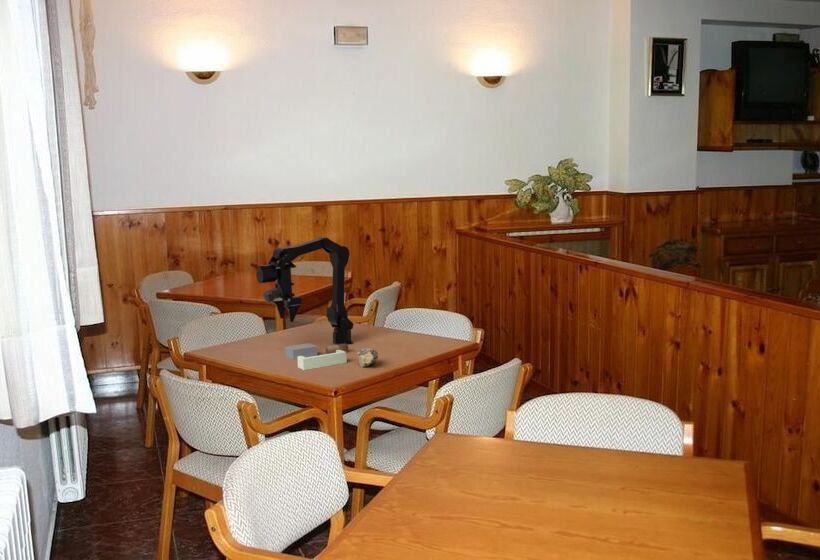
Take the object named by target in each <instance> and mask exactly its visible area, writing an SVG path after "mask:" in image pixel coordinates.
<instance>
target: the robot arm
mask: <svg viewBox="0 0 820 560" xmlns="http://www.w3.org/2000/svg"><path fill="white" fill-rule="evenodd" d="M318 250H323V251H324V252H326V253H327V254H328V257H329V263H330V264H331V266H332V285H331V286H332V288H331V290H332V291H331V295H332V296H331V304H330V306H327V307H326V315H325V317H326V318H327V322H329V324H330V325H331V328H333V331H332V342H331V344H332V343H333V344H334V345H338V344H344V343H346V344H347V345H349V344H353V343H354V341H352V330H353V329H354V326H355V325H354V323H353V322H352V321H351V320H350V318H349V315H348V310H347V308H346V304H345V279H346V278H345V275H346V267H347V265H348V264H349V258H350V249H349V248H348V247H347V246H344V245H340V244H338V243H336V242H335V241H332V240H331V239H330V238H328V237H326V236H325V237H324V236H319V237H318V238H316V239H315V238H314V239H312V240H309V241H305V242H302V243H299V244H296V245H289V246H279V247H276V248H274V250H273V252H272V256H271V257H270V260H269V261H268V263H267V264H264V265H262V264H261V265H258V266H257V267H258V268H257V270H256V274H255V276H256V280H257V282H258V284H261V285H262V284H267V283H274V287H272V288H270V289H268V290H266V291H264V292H263V293H262V296H263V298H264V300H265V302H268V303H272V304H274V305H275V307H276V310H277V312H278V315H279V317H280V319H281V320H282V319H284V318H285V314H286V309H287V313H288V318H289V322H290V323H293V322H294V321H295V319H296V315H297V313H298V311H299V310H300V307H301V306H302V305H303V298H302V297H300V296H298V295H296V294H295V292H293V286H295V283H294V282H293V280H292V277H293V276H292V269H294V268H297V265H295V264H294V263H293V261H295V260H296V259H297V258H298V257H300V256H302V255H306V254H309V253H313V252H315V251H318Z"/></svg>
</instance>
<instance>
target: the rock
mask: <svg viewBox="0 0 820 560" xmlns="http://www.w3.org/2000/svg"><path fill="white" fill-rule="evenodd" d="M356 352H357V358H358V360H359V361H358V364H359V365H360V367H362V368H364V367H368V366H370V364H371V365H373V366H374V365H375V364H376V363H377V359H379V352H377V350H376V349H374V348H371V347H370V346H363V347H362V348H360V349H359V350H358V351H356Z"/></svg>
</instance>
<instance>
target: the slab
mask: <svg viewBox="0 0 820 560" xmlns="http://www.w3.org/2000/svg"><path fill="white" fill-rule="evenodd" d="M284 348H285V350H284V351H285V357H286V358H288V359H290V360H294V361H295V360H298V359H297V356H303V357H305V358H306V357H312V356H318V346H317V345H315V344H313V343H310V342H308V343H302V344H295V345H288V346H285V347H284Z"/></svg>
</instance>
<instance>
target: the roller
mask: <svg viewBox="0 0 820 560" xmlns="http://www.w3.org/2000/svg"><path fill="white" fill-rule="evenodd" d="M336 350H342V351H344V352H346V353H348V352H349V344H346V343H344V344H338V345H337V344H333V345H326V346H325V354H331V353H336Z"/></svg>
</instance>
